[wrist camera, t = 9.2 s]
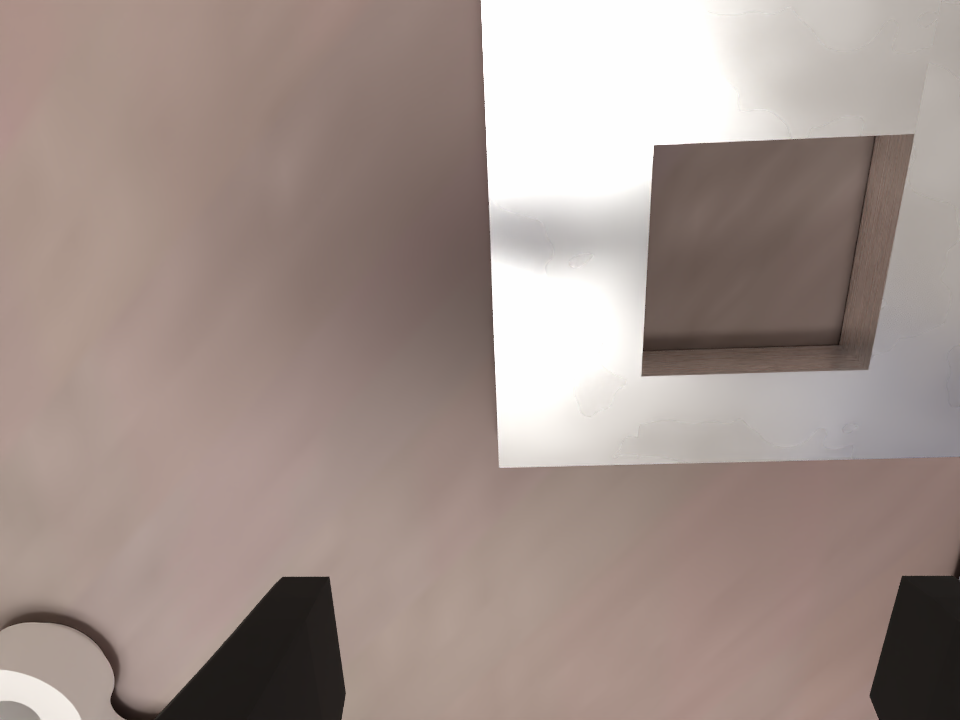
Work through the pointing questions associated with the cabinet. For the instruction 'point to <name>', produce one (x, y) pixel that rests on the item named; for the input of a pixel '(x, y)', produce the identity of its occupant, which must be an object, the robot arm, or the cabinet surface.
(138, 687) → the cabinet surface
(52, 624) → the joystick
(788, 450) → the panel
